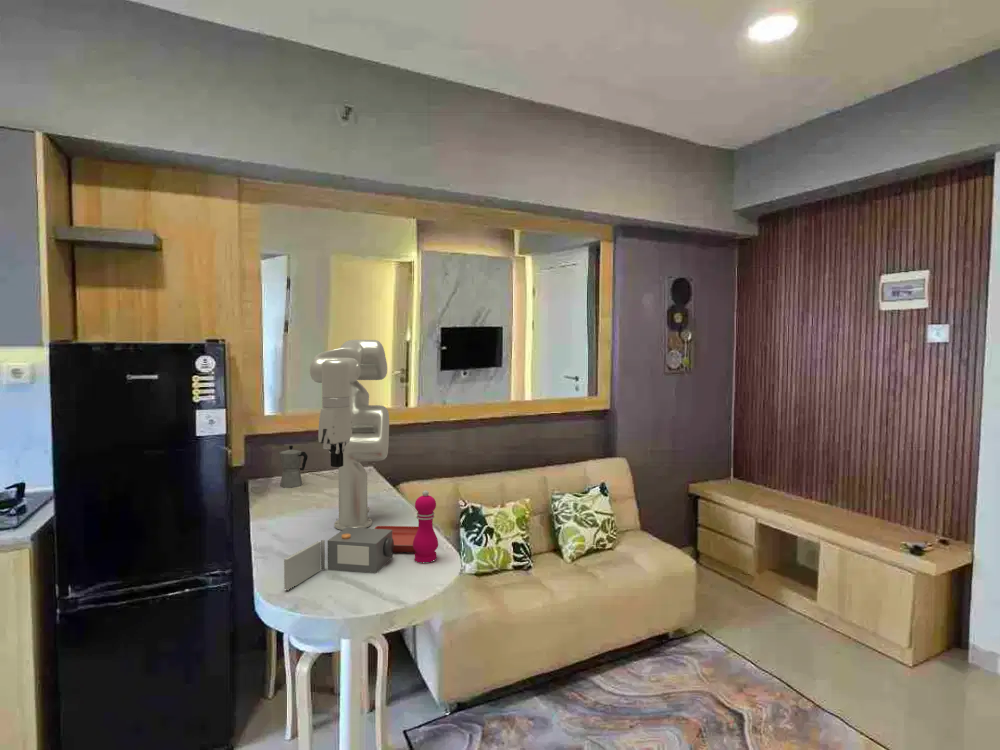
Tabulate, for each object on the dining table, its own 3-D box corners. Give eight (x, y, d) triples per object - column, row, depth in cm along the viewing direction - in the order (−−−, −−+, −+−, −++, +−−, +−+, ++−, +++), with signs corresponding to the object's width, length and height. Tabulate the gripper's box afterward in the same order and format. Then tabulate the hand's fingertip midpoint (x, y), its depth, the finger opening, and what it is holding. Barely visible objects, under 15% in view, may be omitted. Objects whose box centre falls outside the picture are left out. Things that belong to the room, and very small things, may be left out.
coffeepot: (271, 486, 245) (271, 446, 244) (286, 482, 254) (286, 443, 253) (300, 489, 240) (299, 448, 239) (314, 484, 249) (314, 445, 248)
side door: (325, 568, 151) (325, 540, 151) (289, 590, 136) (289, 559, 136) (320, 567, 151) (320, 539, 151) (284, 590, 137) (284, 559, 137)
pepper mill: (414, 565, 154) (414, 494, 153) (411, 556, 161) (411, 488, 160) (440, 562, 156) (440, 492, 155) (435, 553, 163) (435, 486, 162)
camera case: (347, 553, 163) (346, 524, 162) (396, 557, 160) (396, 527, 160) (327, 569, 151) (327, 537, 150) (380, 573, 148) (380, 541, 148)
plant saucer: (431, 535, 181) (431, 525, 180) (424, 555, 162) (424, 544, 162) (376, 535, 180) (376, 525, 180) (362, 555, 162) (362, 544, 162)
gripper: (341, 399, 166) (342, 459, 167) (307, 405, 152) (308, 471, 153) (362, 400, 163) (363, 461, 164) (330, 407, 149) (331, 473, 150)
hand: (337, 466), depth 159 cm, fingers closed
